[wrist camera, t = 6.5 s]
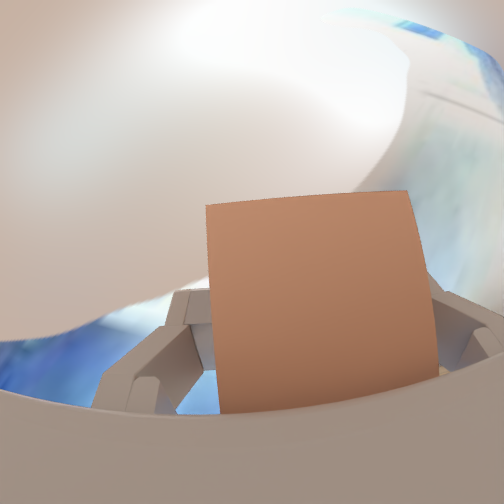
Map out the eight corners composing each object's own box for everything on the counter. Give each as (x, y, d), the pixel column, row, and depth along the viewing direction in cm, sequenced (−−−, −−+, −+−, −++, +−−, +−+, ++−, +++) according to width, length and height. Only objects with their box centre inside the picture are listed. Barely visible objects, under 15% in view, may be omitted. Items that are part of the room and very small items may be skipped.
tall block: (345, 365, 13) (439, 390, 5) (246, 377, 13) (222, 429, 5) (334, 269, 14) (407, 190, 6) (237, 279, 14) (205, 205, 6)
